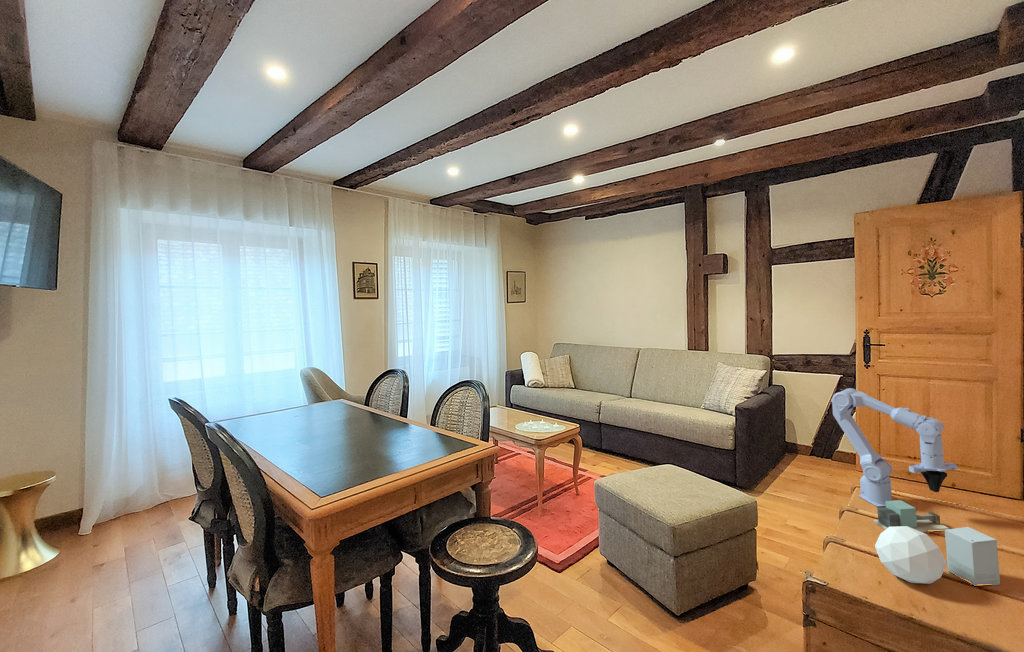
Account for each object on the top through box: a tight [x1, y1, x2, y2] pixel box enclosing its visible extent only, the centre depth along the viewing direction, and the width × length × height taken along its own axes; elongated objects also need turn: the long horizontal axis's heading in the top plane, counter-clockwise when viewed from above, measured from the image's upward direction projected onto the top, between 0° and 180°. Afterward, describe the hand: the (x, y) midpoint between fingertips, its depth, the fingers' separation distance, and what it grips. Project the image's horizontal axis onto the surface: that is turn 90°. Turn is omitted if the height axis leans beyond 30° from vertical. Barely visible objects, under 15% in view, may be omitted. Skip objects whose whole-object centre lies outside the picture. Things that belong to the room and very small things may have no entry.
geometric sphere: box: [874, 526, 948, 585], centre depth 120 cm, size 14×15×15 cm
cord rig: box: [873, 507, 950, 533], centre depth 144 cm, size 8×18×6 cm, turn 86°
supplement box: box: [944, 526, 1001, 587], centre depth 117 cm, size 7×7×13 cm
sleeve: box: [885, 499, 917, 527], centre depth 144 cm, size 6×5×6 cm
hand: (934, 490), depth 148 cm, fingers closed
